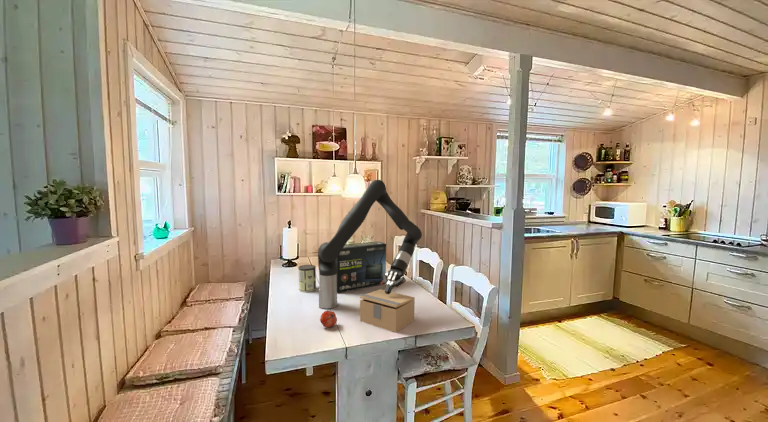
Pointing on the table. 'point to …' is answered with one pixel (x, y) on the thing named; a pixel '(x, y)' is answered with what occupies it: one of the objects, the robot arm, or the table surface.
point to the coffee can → (307, 278)
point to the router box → (361, 266)
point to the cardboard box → (386, 314)
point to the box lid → (387, 298)
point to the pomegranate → (328, 319)
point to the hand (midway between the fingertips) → (386, 293)
